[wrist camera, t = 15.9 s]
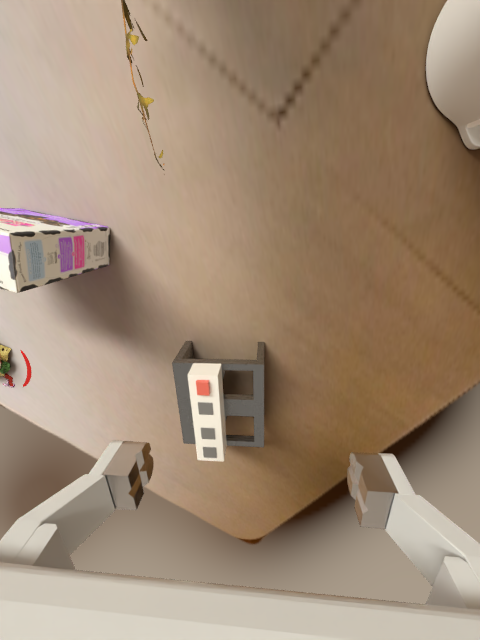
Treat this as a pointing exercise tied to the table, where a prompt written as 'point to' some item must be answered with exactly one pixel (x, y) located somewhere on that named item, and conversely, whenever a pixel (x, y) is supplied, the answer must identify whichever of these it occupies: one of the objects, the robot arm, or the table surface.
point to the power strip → (208, 410)
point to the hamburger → (2, 366)
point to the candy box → (47, 248)
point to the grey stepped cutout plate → (232, 402)
